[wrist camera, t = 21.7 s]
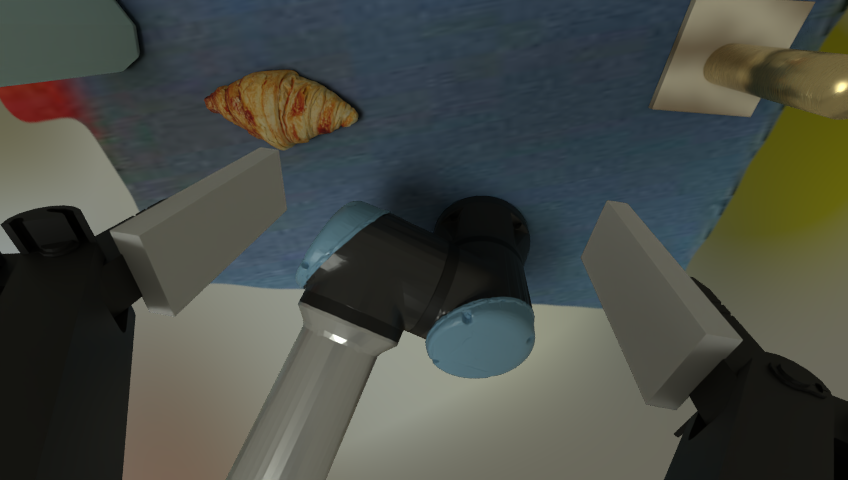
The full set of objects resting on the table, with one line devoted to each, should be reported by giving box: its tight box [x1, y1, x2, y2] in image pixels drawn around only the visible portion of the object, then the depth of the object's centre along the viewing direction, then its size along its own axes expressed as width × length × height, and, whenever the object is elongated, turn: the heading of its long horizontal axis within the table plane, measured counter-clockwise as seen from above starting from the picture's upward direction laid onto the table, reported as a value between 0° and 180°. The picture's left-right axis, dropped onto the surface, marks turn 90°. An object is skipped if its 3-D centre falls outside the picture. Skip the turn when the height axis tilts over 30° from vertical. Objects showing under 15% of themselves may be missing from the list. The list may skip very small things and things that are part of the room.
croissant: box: [204, 70, 359, 150], centre depth 45 cm, size 21×10×8 cm, turn 88°
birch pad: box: [648, 0, 815, 117], centre depth 37 cm, size 11×11×1 cm
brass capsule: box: [703, 43, 848, 119], centre depth 30 cm, size 4×4×16 cm
